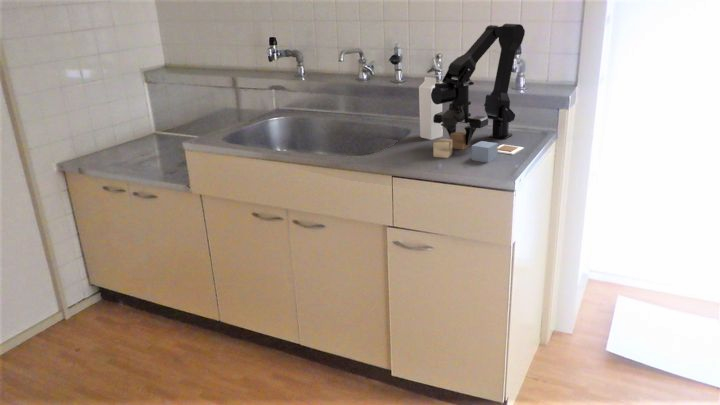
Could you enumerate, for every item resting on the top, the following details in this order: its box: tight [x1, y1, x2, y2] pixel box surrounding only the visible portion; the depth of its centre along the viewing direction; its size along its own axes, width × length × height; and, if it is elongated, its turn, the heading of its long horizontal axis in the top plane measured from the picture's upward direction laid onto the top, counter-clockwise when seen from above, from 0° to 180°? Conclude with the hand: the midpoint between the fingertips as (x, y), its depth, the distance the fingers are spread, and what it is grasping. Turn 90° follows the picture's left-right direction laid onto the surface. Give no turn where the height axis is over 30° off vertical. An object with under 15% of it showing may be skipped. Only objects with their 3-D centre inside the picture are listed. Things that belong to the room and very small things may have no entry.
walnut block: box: [449, 130, 471, 150], centre depth 208 cm, size 5×5×5 cm
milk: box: [418, 76, 444, 141], centre depth 219 cm, size 6×6×22 cm
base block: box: [471, 140, 499, 163], centre depth 194 cm, size 6×6×5 cm
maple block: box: [432, 138, 453, 159], centre depth 201 cm, size 5×5×5 cm
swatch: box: [498, 144, 525, 156], centre depth 202 cm, size 8×8×1 cm
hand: (460, 143), depth 209 cm, fingers open, 5 cm apart
